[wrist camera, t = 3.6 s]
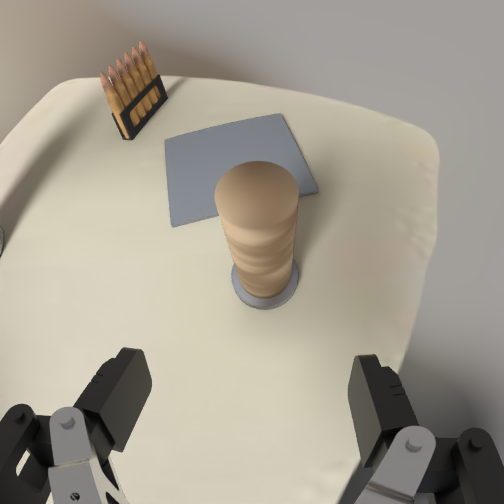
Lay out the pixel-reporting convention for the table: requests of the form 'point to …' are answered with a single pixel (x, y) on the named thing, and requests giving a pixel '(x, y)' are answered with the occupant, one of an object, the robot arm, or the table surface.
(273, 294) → the tan ribbed cylinder
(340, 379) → the table surface
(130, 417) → the robot arm
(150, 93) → the ammunition clip
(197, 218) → the slate mat
